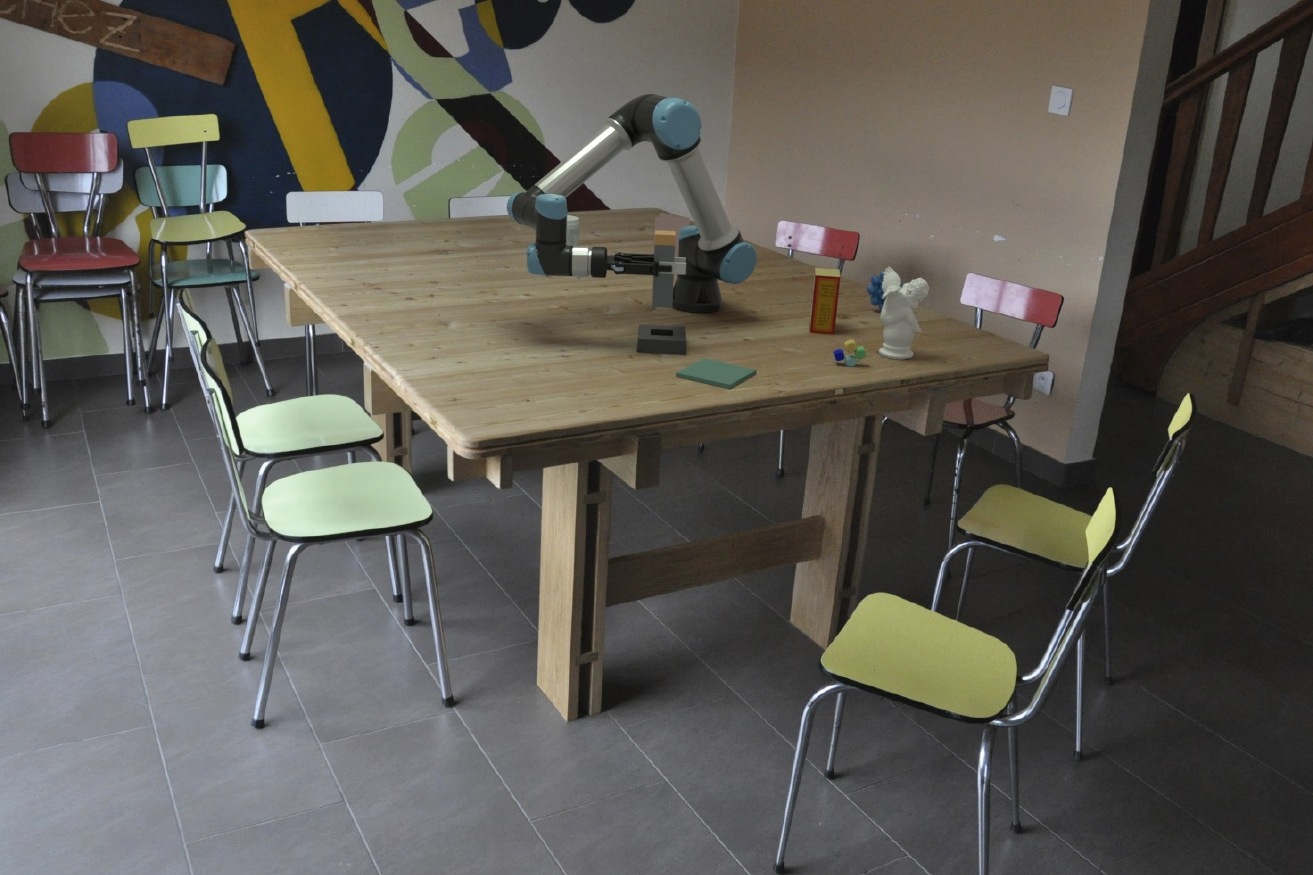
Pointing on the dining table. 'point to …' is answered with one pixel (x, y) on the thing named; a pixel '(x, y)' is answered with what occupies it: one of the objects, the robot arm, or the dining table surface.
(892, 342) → the cherub figurine
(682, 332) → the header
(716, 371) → the mat
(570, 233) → the supplement tub
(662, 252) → the plug
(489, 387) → the dining table surface
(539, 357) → the dining table surface
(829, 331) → the baking soda box
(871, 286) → the grapes
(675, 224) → the greeting card
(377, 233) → the dining table surface
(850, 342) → the dice
